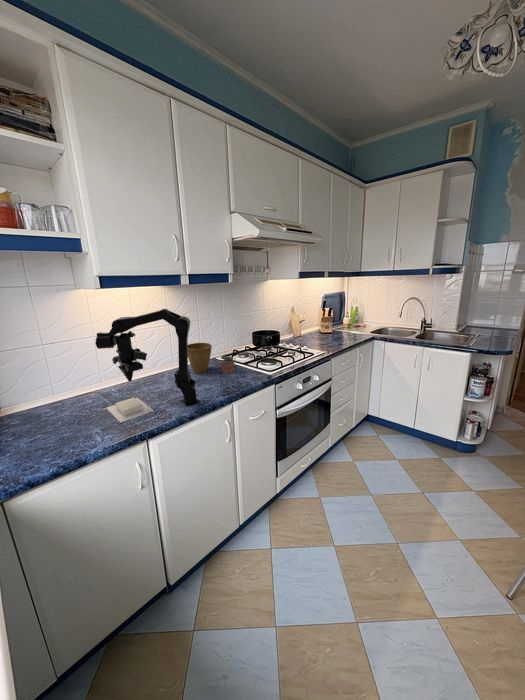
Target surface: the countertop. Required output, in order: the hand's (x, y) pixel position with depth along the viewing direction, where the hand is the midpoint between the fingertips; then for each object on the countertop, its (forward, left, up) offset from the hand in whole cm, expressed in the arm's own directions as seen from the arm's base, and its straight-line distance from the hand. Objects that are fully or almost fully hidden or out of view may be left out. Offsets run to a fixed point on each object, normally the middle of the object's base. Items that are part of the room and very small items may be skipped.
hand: (130, 381), depth 128 cm
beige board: (-3, +3, -12) cm, 13 cm away
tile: (+2, +3, -10) cm, 11 cm away
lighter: (+3, -56, -12) cm, 58 cm away
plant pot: (+17, -46, -12) cm, 51 cm away
